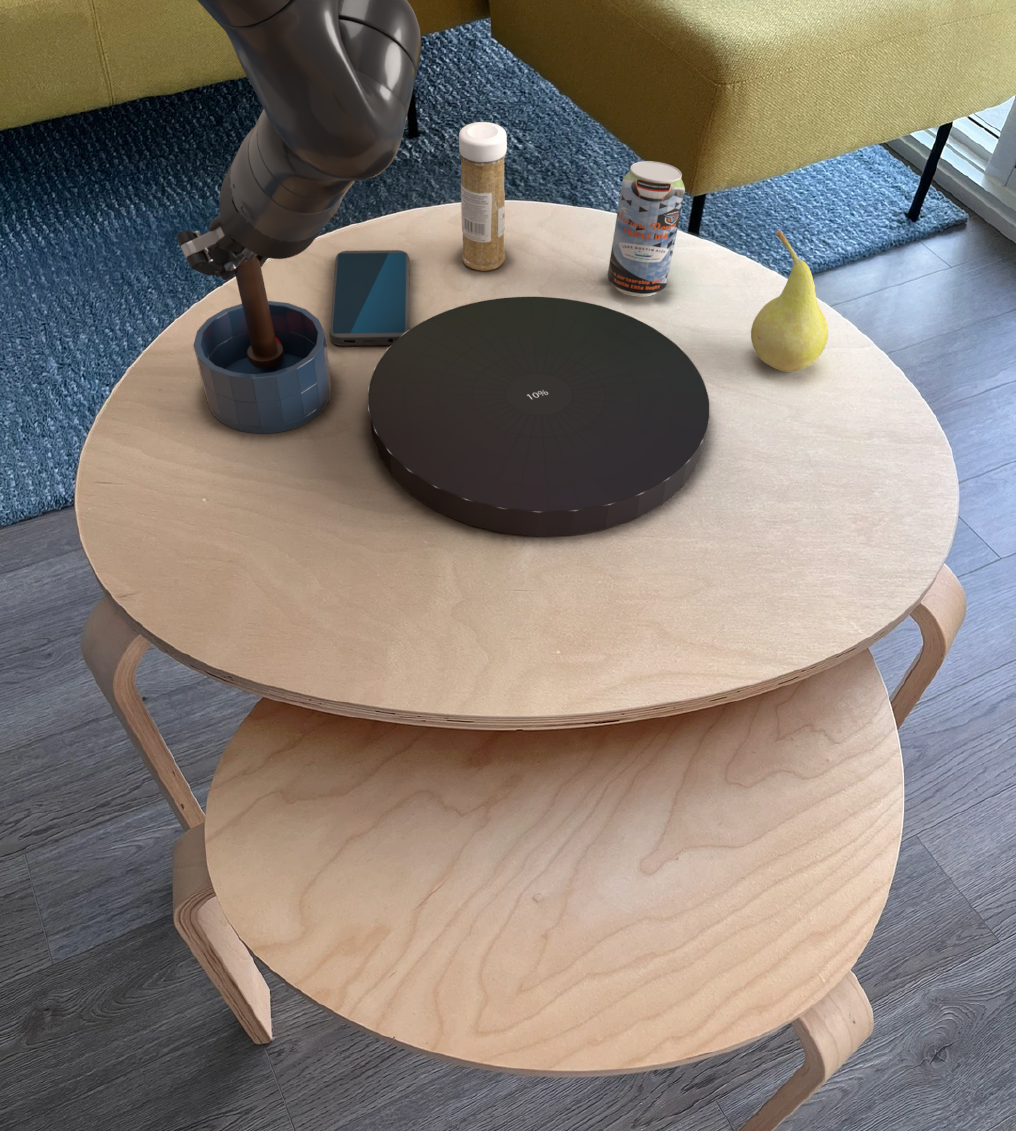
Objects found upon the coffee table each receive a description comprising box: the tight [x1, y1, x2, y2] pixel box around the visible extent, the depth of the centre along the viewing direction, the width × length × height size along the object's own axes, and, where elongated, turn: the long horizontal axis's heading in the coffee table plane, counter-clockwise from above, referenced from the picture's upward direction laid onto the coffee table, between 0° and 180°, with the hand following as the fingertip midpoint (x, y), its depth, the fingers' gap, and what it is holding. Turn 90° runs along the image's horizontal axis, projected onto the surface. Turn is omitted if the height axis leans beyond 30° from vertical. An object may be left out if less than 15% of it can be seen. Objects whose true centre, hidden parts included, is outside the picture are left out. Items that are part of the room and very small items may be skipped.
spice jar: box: [458, 121, 508, 271], centre depth 112 cm, size 5×5×13 cm
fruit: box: [750, 229, 829, 373], centre depth 102 cm, size 7×8×12 cm
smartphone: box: [329, 249, 410, 346], centre depth 111 cm, size 8×15×1 cm, turn 3°
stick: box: [234, 255, 284, 368], centre depth 96 cm, size 3×3×12 cm
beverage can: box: [607, 160, 686, 298], centre depth 110 cm, size 6×7×12 cm
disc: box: [367, 295, 710, 537], centre depth 100 cm, size 30×30×3 cm
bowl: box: [193, 300, 332, 435], centre depth 100 cm, size 11×11×6 cm
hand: (236, 262), depth 95 cm, fingers closed on stick, 2 cm apart
